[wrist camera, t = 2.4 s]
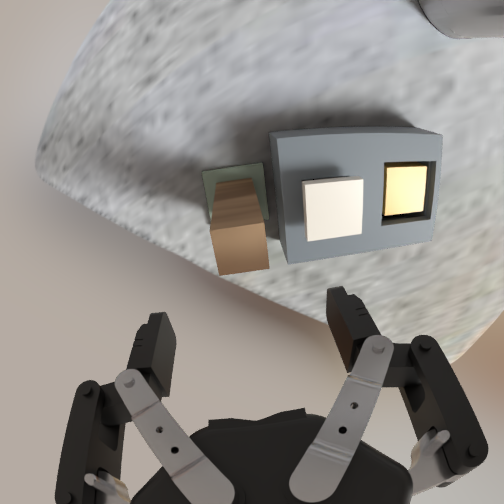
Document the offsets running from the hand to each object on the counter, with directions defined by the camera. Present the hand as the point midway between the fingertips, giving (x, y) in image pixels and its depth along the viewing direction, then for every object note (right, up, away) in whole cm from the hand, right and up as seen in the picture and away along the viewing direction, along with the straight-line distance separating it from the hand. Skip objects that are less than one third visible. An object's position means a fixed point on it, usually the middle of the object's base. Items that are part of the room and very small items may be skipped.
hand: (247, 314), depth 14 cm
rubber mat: (-1, +9, +15) cm, 18 cm away
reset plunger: (+16, +10, +13) cm, 23 cm away
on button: (+7, +8, +12) cm, 16 cm away
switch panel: (+11, +11, +15) cm, 22 cm away
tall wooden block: (-1, +9, +15) cm, 17 cm away
